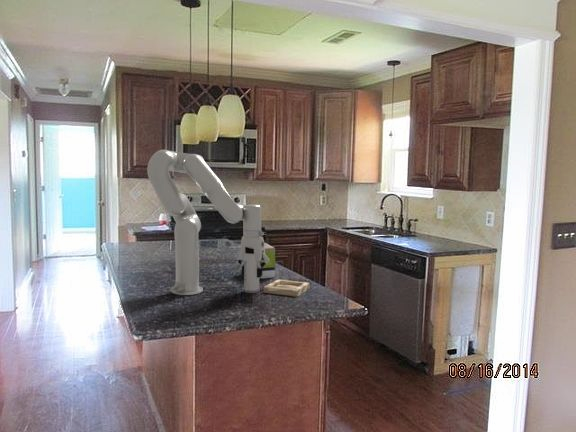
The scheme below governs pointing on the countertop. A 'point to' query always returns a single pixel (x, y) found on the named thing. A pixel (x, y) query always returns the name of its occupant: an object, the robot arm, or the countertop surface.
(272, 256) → the tea box
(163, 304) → the countertop surface
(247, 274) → the travel mug
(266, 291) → the holder base
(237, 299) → the countertop surface
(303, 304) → the countertop surface
